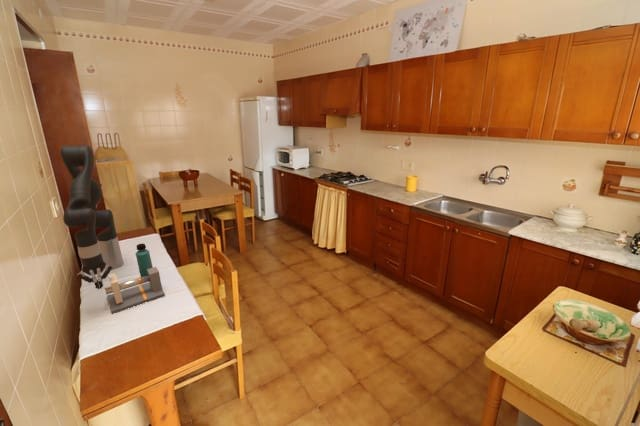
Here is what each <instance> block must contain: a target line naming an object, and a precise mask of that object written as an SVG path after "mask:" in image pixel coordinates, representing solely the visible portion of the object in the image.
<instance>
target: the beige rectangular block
mask: <svg viewBox="0 0 640 426" xmlns="http://www.w3.org/2000/svg"><path fill="white" fill-rule="evenodd" d="M108 278H109V281H110V285H111V286H112V288H113V293H112V294H114V297H115V300H116V303H120V302H123V299H122V295H121V291H122V290H120V287H119V284H120V283H119V281H118V278H117V275H116V273H112V274H108Z"/></svg>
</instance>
